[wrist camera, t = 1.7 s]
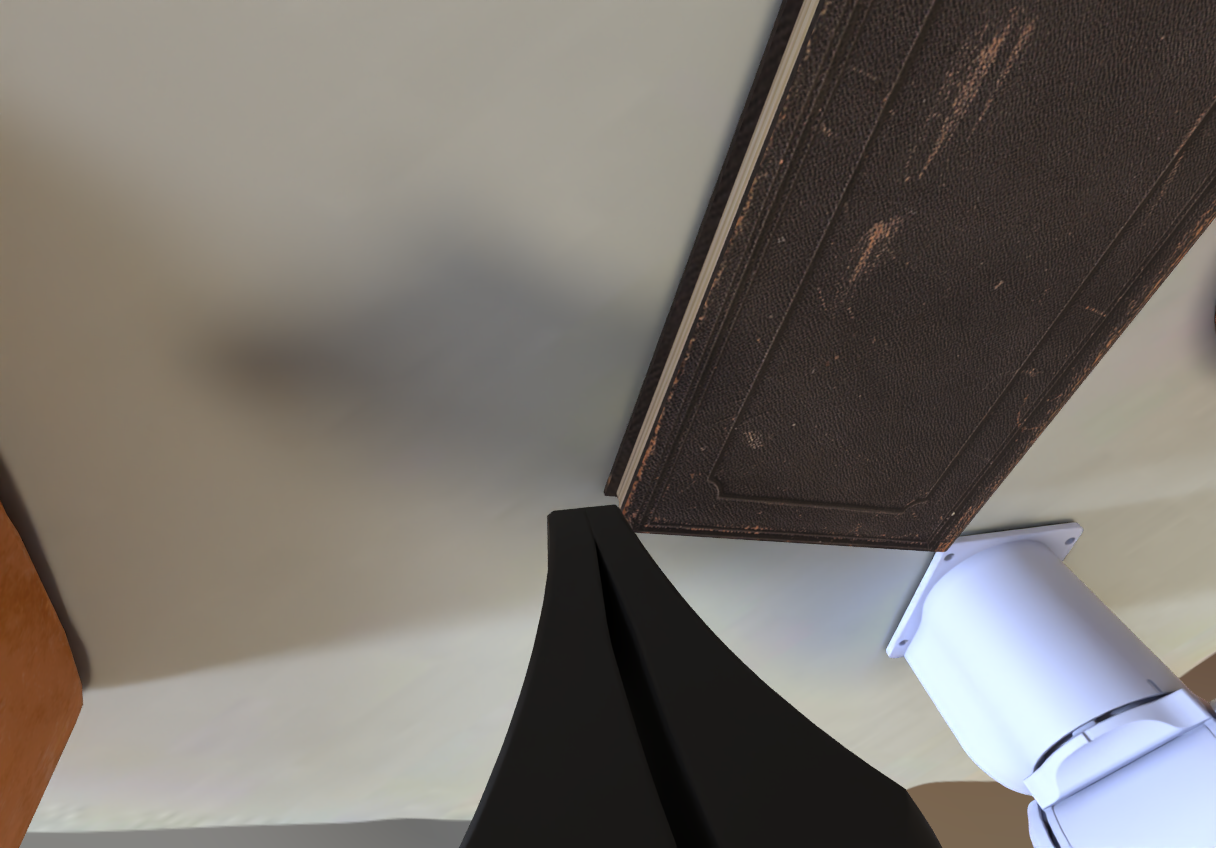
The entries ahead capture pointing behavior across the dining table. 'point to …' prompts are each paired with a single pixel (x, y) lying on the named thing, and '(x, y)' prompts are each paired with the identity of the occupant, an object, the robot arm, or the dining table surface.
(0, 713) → the bread
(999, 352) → the hardcover book
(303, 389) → the dining table surface
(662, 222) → the dining table surface
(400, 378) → the dining table surface
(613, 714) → the robot arm
